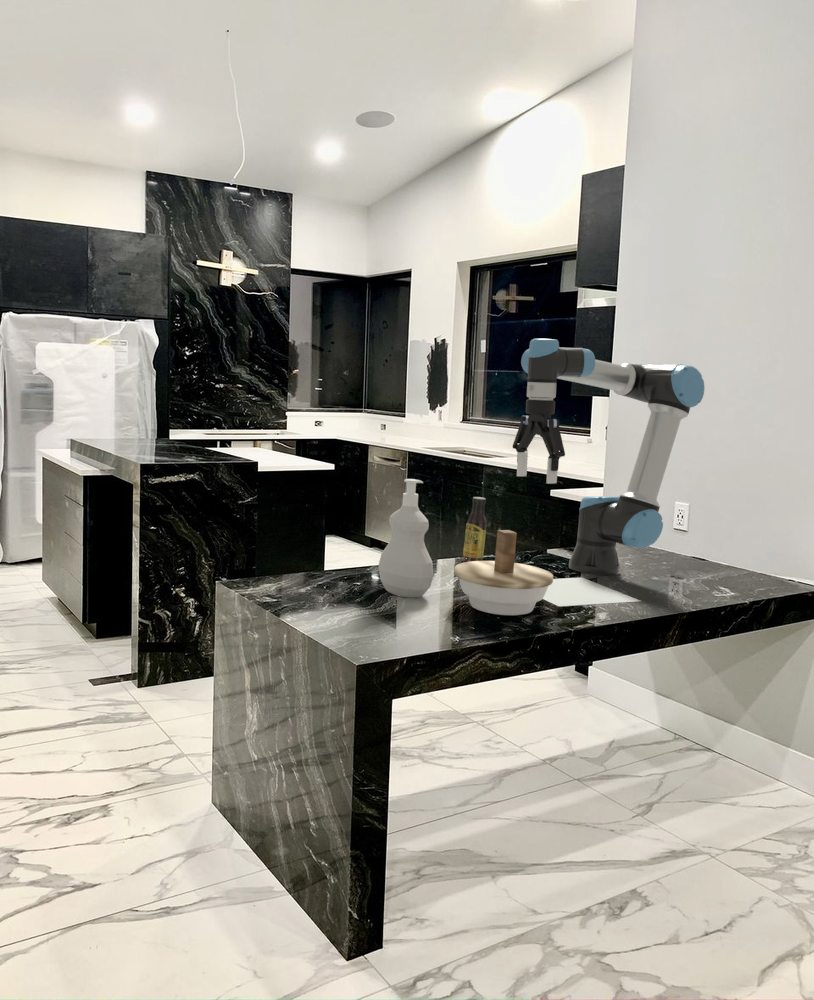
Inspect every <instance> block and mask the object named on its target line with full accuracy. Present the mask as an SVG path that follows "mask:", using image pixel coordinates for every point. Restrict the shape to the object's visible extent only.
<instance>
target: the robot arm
mask: <svg viewBox="0 0 814 1000" xmlns="http://www.w3.org/2000/svg"><path fill="white" fill-rule="evenodd" d="M528 346H529V348H528V349H526V350H525V351H524V352H523V354H522V356H521V360H520V364H521V367H522V371H524V372H525V373H526V374H527V386H526V397H527V398H528V399H526V400H525V413H526V414H528V415H521V417H520V422H519V423H520V424H519V426H518V429H517V432H516V435H515V438H514V440H513V444H512V449H515V450H516V452H517V453H516V454H517V456H516V463H517V465H516V477H527V474H528V472H527V471H528V457H529V456H528V455H529V451H528V448H529V446H530V445H531V443H532V441H533V440H534V438H535V436H536V435H537V436H540V437H541V438H542V440H543V443H544V445H545V448H546V451H547V452H548V455H549V456H547V457H548V458H547V466H546V467H547V468H546V482H545V484H548V485H549V484H550V485H551V484H557V482H558V481H557V480H558V472H559V465H560V464H559V461H560V459H561V458H562V457H565V456H566V452H565V449H564V443H563V438H562V435H561V431H560V430H561V429H560V419H557V418H553V419H552V417H551V416H553V415H554V414H555V412H556V411H555V410H556V401H555V400H554V399H555V398H556V397H557V396H556V395H557V379H558V380H563V381H567V382H572V383H578V384H582V385H586V386H591V387H597V388H601V389H605V390H609V391H610V390H611V391H613V392H614V393H615V394H616V395H617V396H618V395H619V396H623V397H626V398H629V399H633V400H637V401H640V402H643V403H647V407H648V409H649V411H650V414H649V418H648V422H647V425H646V428H645V431H644V434H643V437H642V441H641V444H640V448H639V451H638V453H637V458H636V461H635V464H634V467H633V471H632V474H631V477H630V480H629V484H628V486H627V489H626V491H625V492H623V493H621V494H620V495H619V496H612V495H611V496H610V495H609V496H608V495H606V496H603V495H602V496H601V495H595V496H594V495H593V496H591V495H590V496H588V495H587V496H584V497H582V499H581V500H580V507H579V511H578V512H579V514H578V524H577V525H578V526H577V537H576V545H575V547H574V550H573V552H572V554H571V557H570V559H569V561H568V568H569V569H570V570H573V571H575V572H577V573H582V574H588V575H595V576H615V575H620V567H621V566H620V562H619V558H618V557H619V556H618V552H617V544H619V545H624V546H626V547H629V548H634V549H647V548H649V547H650V546H651V545H653V544H655V543H656V542H657V540H659V538H660V536H661V534H662V531H663V528H664V522H663V521H662V520H663V517H662V515H661V513H660V508H661V506H660V504H659V502H658V501H657V499H658V496H659V492H660V488H661V486H662V483H663V479H664V476H665V472H666V469H667V466H668V463H669V459H670V457H671V453H672V449H673V447H674V443H675V440H676V436H677V434H678V431H679V427H680V425H681V421H682V420H683V419H685V418H687V417H688V416H689V413H690V410H691V408H694V407H696V406H698V404H700V403H701V402H702V400H703V397H704V396H705V381H704V379H703V375H702V373H701V372H700V370H698V368H696V367H694V366H692V365H685V364H682V363H680V364H667V363H666V364H663V363H660V364H659V363H651V364H649V363H647V364H633V363H629V362H624V363H620V364H617V363H613V362H608V361H604V360H599V359H596V357H595V354H594V352H593V351H592V350H590V349H587V348H583V347H560V342H559V340H558V339H554V338H553V339H552V338H533V339H531V340H530V341H529V345H528Z"/></svg>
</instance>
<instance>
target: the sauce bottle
mask: <svg viewBox="0 0 814 1000" xmlns="http://www.w3.org/2000/svg"><path fill="white" fill-rule="evenodd" d="M471 502H472V507H471V512H470V513H469V516H468V519H467V521H466V525H465V532H464V538H463V539H464V541H463V548H462V549H463V551H462V560H463V561H464V562H471V561H483V558H484V550H485V543H486V542H485V541H486V533H487V524H488V523H487V522H488V520H487V517H486V515H485V506H486V505H485V504H486V503H487V498H485V497H481V496H473V497H472V501H471ZM463 558H467V559H463Z"/></svg>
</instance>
